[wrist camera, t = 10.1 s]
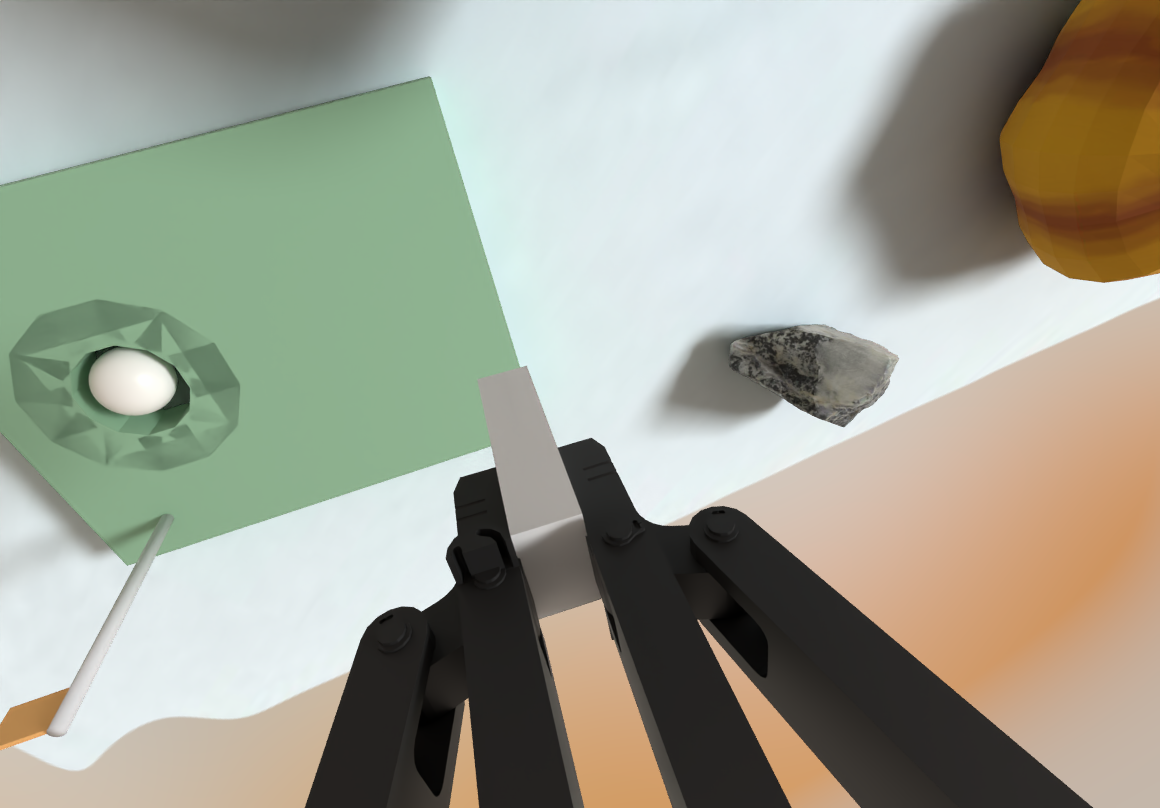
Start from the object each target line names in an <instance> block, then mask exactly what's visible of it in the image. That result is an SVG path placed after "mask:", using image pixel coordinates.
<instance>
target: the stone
mask: <svg viewBox="0 0 1160 808" xmlns="http://www.w3.org/2000/svg"><path fill="white" fill-rule="evenodd" d="M898 360H899V358H898V356H897V355H895V354H892V353H891V352H889V351H888V350H887V349H886V348H885V347H883V346H881V345H879V344H876V343H874V342H872V341H869V340H865V339H861V338H858V337H856V336H854V335H852V334H849V333H844V332H840V331H837V330H836V329H834V328H833V327H829V326H826V325H818V324H814V325H803V326H795V327H791V328H788V329H785V330H782V331H776V332H769V333H764V334H760V335H756V336H750V337H745V338H742V339H740V340H736V341H734V342H733V343H731V345H730V355H729V366H730V367H731V368H732V369H733V370H734V371H736V372H738V373H740V374H742V375H744V376H746V377H748V378H750V379H751V380H752V381H754V382H756V383H758V384H759V385H761V386H763V387H765V388H767V389H769V390H770V391H772V392H774V393H776V394H777V395H779V396H780V397H782V398H784V399H785V400H786V401H788V402H789V403H791V404H793V405H794V406H796V407H797V408H798V409H800V410H802V411H804V412H807V413H809V414H810V415H812V416H814V417H817V418H819V419H822V420H825V421H828V422H830V423H833V424H836V425H839V426H841V427H845V426H846V425H847V424H848V423H849V422H851V421H852V420H853V419H854V417H855V416H856V415H857V414H858V413H860V412H861V411H862V410H863V409H865V408H868V407H870V406H871V405H873V404H874V403H875V402H876V401H877V400H878V398H880V397H881V396H882V395H883V394H884V392H885V390H886V389H887V387H888V385H889V383H890V379H889V378H890V376H891V374H892V372H893V370H894V367H895V365H896V363H897V362H898Z"/></svg>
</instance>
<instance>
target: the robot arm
mask: <svg viewBox="0 0 1160 808" xmlns="http://www.w3.org/2000/svg"><path fill="white" fill-rule="evenodd" d="M477 381H478V386H479V390H480V395H481V400H482V404H483V409H484V414H485V419H486V423H487V428H488V433H489V437H490V442H491V447H492V452H493V456H494V461H495V466H496V467H495V468H491V469H488V470H484V471H481V472H478V473H474V474H471V475H467V476H464V477H460V479H459V481H458V484H457V486H456V488H455V491H454V503H455V509H456V510H455V512H456V520H457V531H458V536H457V537H456V538H454V539H453V541H452V542H451V544H450V546H449V547H448V549H447V554H446V560H447V563H448V565H449V567H450V570H451V572H452V574H453V576H454V579H455V581H456V584H455V586H454V587H453V589H452V590H451V591H450V592H449V593H448V594H447V595H446V596H445V597H443V598H442V599H441V600H439V601H438V602H436V603H435V604H433V605H432V606H430V607H428V608H427V609H425V610H424V611H422V612H421V611H419V610H418V609H416V608H414V607H398V608H395V609H391V610H389V611H387V612H385V613H384V614H382V615H380V616H379V617H377V618H376V619H375V620H374V621H373V622H372V623H371V624H370V625H369V626H368V627H367V629H366V631H365V633H364V634H363V636H362V638H361V640H360V643H359V646H358V649H357V652H356V655H355V658H354V661H353V664H352V667H351V671H350V674H349V677H348V680H347V683H346V686H345V689H344V692H343V695H342V698H341V701H340V704H339V707H338V710H337V713H336V716H335V719H334V722H333V725H332V728H331V731H330V734H329V737H328V740H327V743H326V746H325V749H324V752H323V755H322V758H321V761H320V764H319V767H318V770H317V773H316V776H315V779H314V782H313V785H312V788H311V791H310V794H309V797H308V800H307V803H306V806H305V808H449V805H450V798H451V791H452V784H453V778H454V771H455V765H456V758H457V752H458V745H459V738H460V732H461V725H462V719H463V712H464V705H465V703H464V701H465V700H466V699H467V698H469V707H470V718H471V728H472V738H473V748H474V759H475V768H476V779H477V789H478V800H479V808H584V805H583V800H582V796H581V792H580V788H579V783H578V780H577V775H576V771H575V766H574V762H573V758H572V754H571V750H570V746H569V741H568V737H567V733H566V728H565V724H564V720H563V716H562V711H561V707H560V703H559V699H558V694H557V690H556V686H555V682H554V678H553V673H552V669H551V665H550V661H549V657H548V652H547V648H546V644H545V640H544V637H543V634H542V631H541V628H540V624H539V620H538V619H541V618H544V617H547V616H551V615H554V614H557V613H560V612H563V611H566V610H569V609H572V608H575V607H578V606H581V605H584V604H587V603H590V602H593V601H596V600H599V599H601V598H602V601H603V603H604V607H605V612H606V616H607V620H608V625H609V629H610V634H611V638H612V640H615V643H616V646H617V649H618V652H619V655H620V658H621V660H622V663H623V666H624V669H625V672H626V675H627V678H628V681H629V684H630V686H631V689H632V692H633V695H634V697H635V701H636V704H637V707H638V709H639V712H640V715H641V718H642V721H643V724H644V727H645V730H646V732H647V735H648V738H649V741H650V744H651V747H652V750H653V752H654V756H655V758H656V761H657V764H658V767H659V770H660V773H661V775H662V779H663V782H664V784H665V787H666V790H667V793H668V796H669V799H670V802H671V805H672V808H791V806H790V804H789V802H788V800H787V798H786V796H785V794H784V792H783V790H782V788H781V786H780V784H779V782H778V780H777V778H776V776H775V774H774V772H773V770H772V768H771V766H770V764H769V762H768V760H767V758H766V756H765V754H764V752H763V750H762V748H761V746H760V744H759V742H758V740H757V738H756V736H755V734H754V732H753V730H752V728H751V726H750V724H749V722H748V720H747V718H746V716H745V714H744V712H743V710H742V709H741V706H740V704H739V703H738V700H737V698H736V696H735V694H734V692H733V691H732V689H731V686H730V685H729V683H728V681H727V679H726V677H725V675H724V673H723V671H722V669H721V667H720V665H719V663H718V661H717V659H716V657H715V655H714V653H713V651H712V649H711V647H710V645H709V643H708V641H707V639H706V637H705V635H704V633H703V631H702V629H701V627H700V625H699V623H698V621H697V620H700V622H701V623H702V625H703V626H704V627H705V628H706V629H707V630H708V631H709V633H710V634H711V635H712V636H713V637H714V638H715V639H716V641H717V642H718V643H719V644H720V645H721V646H722V648H723V649H724V650H725V651H726V652H727V653H728V655H729V656H730V657H731V658H732V659H733V660H734V661H735V662H736V664H737V665H738V666H739V667H740V668H741V669H742V671H743V672H744V673H745V674H746V675H747V676H748V678H749V679H750V680H751V681H752V682H753V683H754V685H755V686H756V687H757V688H758V689H759V690H760V691H761V693H762V694H763V695H764V696H765V697H766V698H767V699H768V701H769V702H770V703H771V704H772V705H773V707H774V708H775V709H776V710H777V711H778V712H779V713H780V715H781V716H782V717H783V718H784V719H785V720H786V722H787V723H788V724H789V725H790V726H791V727H792V729H793V730H794V731H795V732H796V733H797V734H798V735H799V737H800V738H801V739H802V740H803V741H804V742H805V743H806V745H807V746H808V747H809V748H810V749H811V750H812V752H813V753H814V754H815V755H816V756H817V757H818V759H819V760H820V761H821V762H822V763H823V764H824V765H825V767H826V768H827V769H828V770H829V771H830V772H831V774H832V775H833V776H834V777H835V778H836V779H837V781H838V782H839V783H840V784H841V785H842V786H843V787H844V789H845V790H846V791H847V792H848V793H849V794H850V796H851V797H852V798H853V799H854V800H855V801H856V802H857V804H858V805H859V806H860V807H861V808H1093V807H1092V806H1090V805H1089V804H1088V803H1087V802H1086V801H1084V800H1083V799H1082V798H1081V797H1080V796H1079V795H1077V794H1076V793H1075V792H1074V791H1073V790H1071V789H1070V788H1069V787H1068V786H1067V785H1065V784H1064V783H1063V782H1062V781H1061V780H1060V779H1058V778H1057V777H1056V776H1055V775H1054V774H1052V773H1051V772H1050V771H1049V770H1048V769H1047V768H1045V767H1044V766H1043V765H1042V764H1041V763H1039V762H1038V761H1037V760H1036V759H1035V758H1034V757H1032V756H1031V755H1030V754H1029V753H1027V752H1026V751H1025V750H1024V749H1023V748H1022V747H1020V746H1019V745H1018V744H1017V743H1016V742H1015V741H1013V740H1012V739H1011V738H1010V737H1009V736H1007V735H1006V734H1005V733H1004V732H1003V731H1002V730H1000V729H999V728H998V727H997V726H996V725H994V724H993V723H992V722H991V721H990V720H988V719H987V718H986V717H985V716H984V715H983V714H981V713H980V712H979V711H978V710H977V709H975V708H974V707H973V706H972V705H971V704H969V703H968V702H967V701H966V700H965V699H964V698H962V697H961V696H960V695H959V694H957V693H956V692H955V691H954V690H953V689H952V688H951V687H949V686H948V685H947V684H946V683H944V682H943V681H942V680H941V679H940V678H939V677H938V676H936V675H935V674H934V673H933V672H932V671H930V670H929V669H928V668H927V667H926V666H925V665H923V664H922V663H921V662H920V661H918V660H917V659H916V658H915V657H914V656H913V655H911V654H910V653H909V652H908V651H907V650H905V649H904V648H903V647H902V646H901V645H900V644H898V643H897V642H896V641H895V640H894V639H893V638H891V637H890V636H889V635H888V634H887V633H885V632H884V631H883V630H882V629H881V628H879V627H878V626H877V625H876V624H875V623H874V622H872V621H871V620H870V619H869V618H868V617H866V616H865V615H864V614H863V613H862V612H860V611H859V610H858V609H857V608H856V607H855V606H853V605H852V604H851V603H850V602H849V601H847V600H846V599H845V598H844V597H843V596H842V595H840V594H839V593H838V592H837V591H836V590H834V589H833V588H832V587H831V586H830V585H828V584H827V583H826V582H825V581H824V580H823V579H821V578H820V577H819V576H818V575H817V574H815V573H814V572H813V571H812V570H811V569H810V568H808V567H807V566H806V565H805V564H804V563H802V562H801V561H800V560H799V559H798V558H797V557H795V556H794V555H793V554H792V553H791V552H789V551H788V550H787V549H786V548H785V547H784V546H782V545H781V544H780V543H779V542H778V541H776V540H775V539H774V538H773V537H772V536H770V535H769V534H768V533H767V532H766V531H765V530H763V529H762V528H761V527H760V526H759V525H757V524H756V523H755V522H754V521H753V520H752V519H750V518H749V517H748V516H747V515H745V514H744V513H742V512H740V511H738V510H737V509H734V508H730V507H725V506H720V507H710V508H707V509H704V510H701V511H700V512H699V513H697V514H696V515H695V516H694V517H693V518H692V520H691V522H690V524H689V525H685V526H662V525H657V524H653V523H651V522H649V521H647V520H645V519H644V518H643V517H641V516H640V515H639V514H638V512H637V511H636V509H635V508H634V506H633V503H632V501H631V499H630V497H629V495H628V493H627V491H626V489H625V487H624V485H623V483H622V481H621V479H620V477H619V475H618V473H617V472H616V469H615V467H614V465H613V463H612V462H611V459H610V457H609V455H608V453H607V451H606V449H605V447H604V446H602V445H601V444H600V443H598V442H597V441H595V440H594V439H592V438H589V439H586V440H582V441H579V442H576V443H572V444H569V445H565V446H562V447H559V448H557V445H556V443H555V440H554V437H553V435H552V432H551V429H550V427H549V424H548V421H547V419H546V416H545V413H544V411H543V408H542V405H541V403H540V400H539V397H538V395H537V392H536V389H535V387H534V384H533V382H532V379H531V376H530V374H529V371H528V368H527V366H524V367H520V368H517V369H513V370H509V371H506V372H502V373H498V374H495V375H491V376H487V377H484V378H480V379H477Z"/></svg>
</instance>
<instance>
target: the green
mask: <svg viewBox="0 0 1160 808" xmlns="http://www.w3.org/2000/svg"><path fill="white" fill-rule="evenodd" d="M111 346H121V347H128V348H135V349H142V350H148V351H149V352H151V353H153V354H155V355H156V356H158V357H160V358H162V359H163V360H165V361H167V362H168V363H170V364H172V365H174V366H175V367H176V369H177V370H178V371H179V373H180V374H181V376H182V377H183V379H184V380H185V382H186V383H187V385H188V386H189V387H190V403H186V404H183V405H180V406H176V407H173V408H170V409H159V410H157V411H155V412H153V413H149V414H145V415H139V416H130V415H123V414H119V413H116V412H113V411H111V410H109V409H107V408H105V407H104V406H103V405H101V404H100V403H99V402H98V401H97V400H96V399H95V397H94V396H93V394H92V392H91V390H90V387H89V373H90V369H91V367H92V365H93V364H94V362H95V361H96V359H95V351H97V350H100V349H104V348H107V347H111ZM517 368H520V366H519V363H518V359H517V356H516V353H515V350H514V346H513V343H512V340H511V337H510V333H509V330H508V327H507V324H506V320H505V317H504V314H503V311H502V307H501V304H500V301H499V297H498V294H497V291H496V288H495V284H494V281H493V278H492V275H491V271H490V268H489V265H488V262H487V258H486V255H485V252H484V249H483V245H482V242H481V239H480V235H479V232H478V229H477V226H476V222H475V219H474V216H473V213H472V209H471V206H470V203H469V200H468V196H467V193H466V190H465V187H464V183H463V180H462V177H461V174H460V170H459V167H458V164H457V160H456V157H455V154H454V151H453V147H452V144H451V141H450V138H449V134H448V131H447V128H446V125H445V121H444V118H443V115H442V112H441V108H440V105H439V102H438V99H437V95H436V92H435V89H434V85H433V82H432V79H431V77H425V78H421V79H417V80H413V81H409V82H405V83H401V84H397V85H393V86H389V87H386V88H382V89H378V90H374V91H370V92H366V93H362V94H358V95H354V96H350V97H346V98H342V99H338V100H334V101H330V102H326V103H323V104H319V105H315V106H311V107H307V108H303V109H299V110H295V111H291V112H287V113H283V114H279V115H275V116H271V117H267V118H263V119H260V120H256V121H252V122H248V123H244V124H240V125H236V126H232V127H228V128H224V129H220V130H216V131H212V132H208V133H204V134H200V135H196V136H193V137H189V138H185V139H181V140H177V141H173V142H169V143H165V144H161V145H157V146H153V147H149V148H145V149H141V150H137V151H133V152H130V153H126V154H122V155H118V156H114V157H110V158H106V159H102V160H98V161H94V162H90V163H86V164H82V165H78V166H74V167H70V168H67V169H63V170H59V171H55V172H51V173H47V174H43V175H39V176H35V177H31V178H27V179H23V180H19V181H15V182H11V183H7V184H4V185H0V432H1V433H2V434H3V436H4V437H5V438H6V439H7V440H8V441H9V442H10V443H11V444H12V445H13V446H14V447H15V448H16V449H17V450H18V451H19V452H20V453H21V454H22V456H23V457H24V458H25V459H26V460H27V461H28V462H29V463H30V464H31V465H32V466H33V467H34V468H35V469H36V470H37V471H38V472H39V473H40V474H41V475H42V477H43V478H44V479H45V480H46V481H47V482H48V483H49V484H50V485H51V486H52V487H53V488H54V489H55V490H56V491H57V492H58V493H59V494H60V495H61V497H62V498H63V499H64V500H65V501H66V502H67V503H68V504H69V505H70V506H71V507H72V508H73V509H74V510H75V511H76V512H77V513H78V514H79V515H80V517H81V518H82V519H83V520H84V521H85V522H86V523H87V524H88V525H89V526H90V527H91V528H92V529H93V530H94V531H95V532H96V533H97V534H98V535H99V536H100V538H101V539H102V540H103V541H104V542H105V543H106V544H107V545H108V546H109V547H110V548H111V549H112V550H113V551H114V552H115V553H116V554H117V555H118V556H119V558H120V559H121V560H122V561H123V562H124V563H125V564H126V565H127V566H128V565H131V564H134V563H136V565H135V566H134V568H133V570H132V572H131V574H130V576H129V578H128V580H127V581H126V583H125V585H124V587H123V589H122V591H121V593H120V595H119V596H118V598H117V600H116V602H115V604H114V606H113V608H112V610H111V611H110V613H109V615H108V617H107V619H106V621H105V623H104V625H103V626H102V628H101V630H100V632H99V634H98V636H97V638H96V639H95V641H94V643H93V645H92V647H91V649H90V651H89V653H88V654H87V656H86V658H85V660H84V662H83V664H82V666H81V668H80V669H79V671H78V673H77V675H76V677H75V679H74V681H73V683H72V684H71V686H70V688H67V689H64V690H61V691H58V692H55V693H52V694H50V695H47V696H44V697H41V698H38V699H35V700H32V701H29V702H27V703H24V704H21V705H18V706H15V707H12V708H10V709H9V711H8V713H7V714H6V716H5V718H4V719H3V721H2V722H1V724H0V750H2V749H5V748H8V747H11V746H14V745H16V744H19V743H22V742H25V741H28V740H31V739H33V738H36V737H39V736H42V735H45V734H48V735H49V736H53V737H60V736H63V735H65V734H66V733H67V731H68V729H69V727H70V725H71V723H72V721H73V719H74V717H75V715H76V713H77V711H78V709H79V707H80V705H81V703H82V701H83V699H84V697H85V695H86V693H87V691H88V689H89V687H90V685H91V683H92V681H93V679H94V677H95V675H96V673H97V671H98V669H99V667H100V665H101V663H102V661H103V659H104V657H105V655H106V653H107V651H108V649H109V647H110V645H111V643H112V641H113V639H114V637H115V635H116V633H117V631H118V630H119V628H120V626H121V624H122V622H123V620H124V618H125V616H126V614H127V612H128V610H129V608H130V606H131V604H132V602H133V600H134V598H135V596H136V594H137V592H138V590H139V588H140V586H141V584H142V582H143V580H144V578H145V576H146V574H147V572H148V570H149V568H150V566H151V564H152V562H153V560H154V558H155V556H158V555H161V554H164V553H167V552H170V551H173V550H176V549H179V548H183V547H186V546H189V545H192V544H195V543H198V542H201V541H204V540H207V539H210V538H213V537H216V536H219V535H222V534H225V533H228V532H231V531H234V530H237V529H240V528H243V527H246V526H249V525H252V524H256V523H259V522H262V521H265V520H268V519H271V518H274V517H277V516H280V515H283V514H286V513H289V512H292V511H295V510H298V509H301V508H304V507H307V506H310V505H313V504H316V503H319V502H322V501H325V500H329V499H332V498H335V497H338V496H341V495H344V494H347V493H350V492H353V491H356V490H359V489H362V488H365V487H368V486H371V485H374V484H377V483H380V482H383V481H386V480H389V479H392V478H395V477H398V476H402V475H405V474H408V473H411V472H414V471H417V470H420V469H423V468H426V467H429V466H432V465H435V464H438V463H441V462H444V461H447V460H450V459H453V458H456V457H459V456H462V455H465V454H468V453H471V452H475V451H478V450H481V449H484V448H487V447H490V446H491V442H490V437H489V433H488V428H487V423H486V419H485V414H484V409H483V404H482V400H481V395H480V390H479V386H478V381H477V379H480V378H484V377H487V376H491V375H495V374H498V373H502V372H506V371H509V370H513V369H517Z"/></svg>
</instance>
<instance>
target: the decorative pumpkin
mask: <svg viewBox="0 0 1160 808" xmlns="http://www.w3.org/2000/svg"><path fill="white" fill-rule="evenodd" d="M999 140H1000V148H1001V156H1002V164H1003V171H1004V174H1005V176H1006V178H1007V181H1008V183H1009V186H1010V188H1011V191H1012V193H1013V196H1014V198H1015V203H1016V210H1017V216H1018V223H1019V227H1020V229H1021V231H1022V232H1023V234H1024V236H1025V238H1026V240H1027V242H1028V243H1029V245H1030V246H1031V247H1032V249H1033V250H1034V251H1035V253H1036V254H1037V256H1038V257H1039V258H1040V260H1041V261H1042V262H1043V264H1045V265H1046V266H1048V267H1050V268H1052V269H1054V270H1056V271H1057V272H1059V273H1061V274H1063V275H1065V276H1066V277H1068V278H1072V279H1080V280H1087V281H1095V282H1103V283H1105V282H1113V281H1122V280H1129V279H1134V278H1139V277H1144V276H1148V275H1153V274H1158V273H1160V0H1081V1H1080V3H1079V4H1078V5H1077V7H1076V8H1075V10H1074V11H1073V13H1072V15H1071V16H1070V18H1069V19H1068V21H1067V22H1066V24H1065V25H1064V27H1063V28H1062V30H1061V32H1060V33H1059V35H1058V37H1057V39H1056V41H1055V43H1054V45H1053V47H1052V49H1051V51H1050V53H1049V56H1048V58H1047V60H1046V62H1045V64H1044V66H1043V68H1042V70H1041V71H1040V73H1039V74H1038V75H1037V77H1036V78H1035V80H1034V81H1033V82H1032V84H1031V85H1030V86H1029V88H1028V89H1027V90H1026V92H1025V93H1024V94H1023V96H1022V97H1021V99H1020V100H1019V101H1018V103H1017V104H1016V106H1015V108H1014V110H1013V111H1012V113H1011V115H1010V117H1009V118H1008V120H1007V122H1006V124H1005V126H1004V127H1003V129H1002V131H1001V134H1000V139H999Z"/></svg>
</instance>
